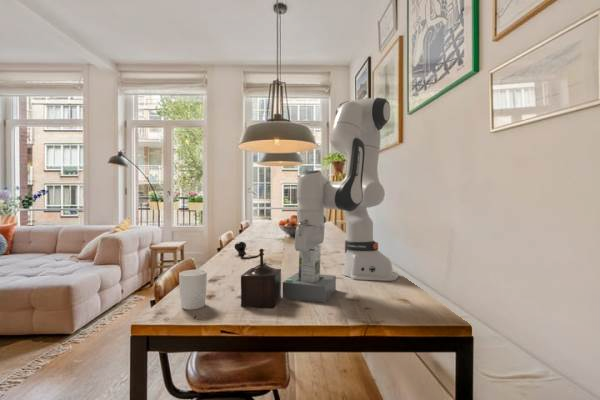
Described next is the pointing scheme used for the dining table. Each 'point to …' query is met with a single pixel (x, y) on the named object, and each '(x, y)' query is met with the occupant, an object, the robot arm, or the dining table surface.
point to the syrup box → (310, 266)
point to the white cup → (192, 288)
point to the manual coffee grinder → (259, 282)
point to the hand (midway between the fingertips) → (310, 260)
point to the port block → (309, 288)
